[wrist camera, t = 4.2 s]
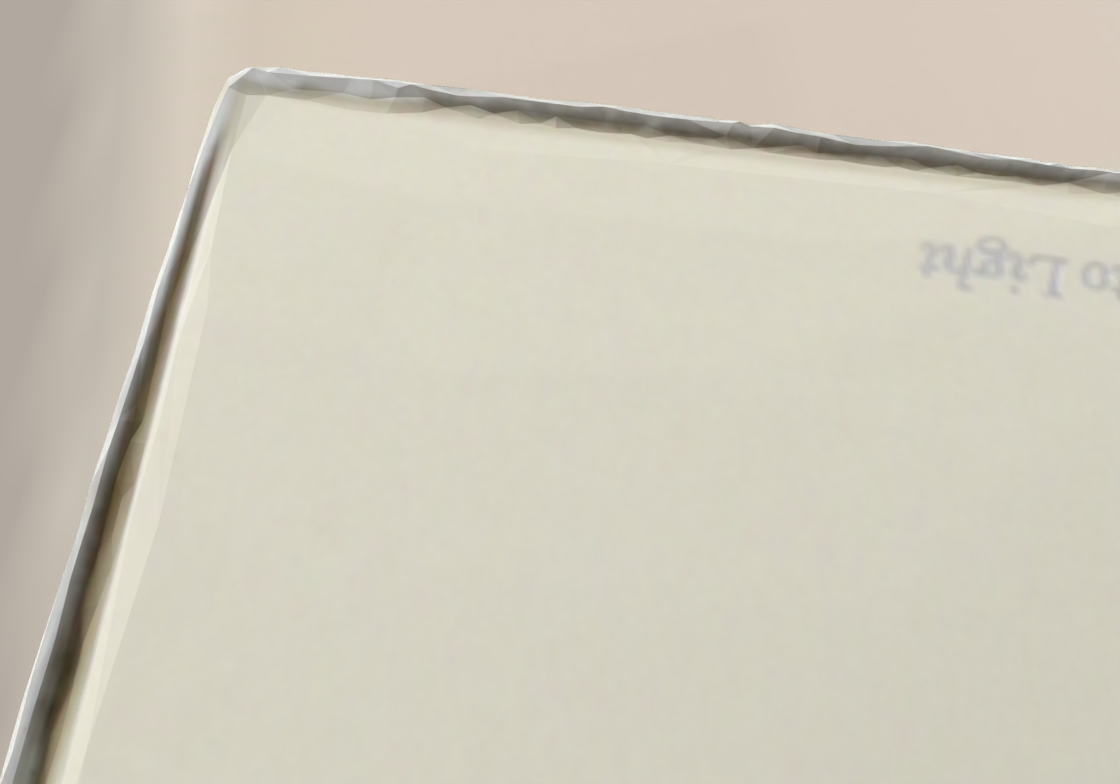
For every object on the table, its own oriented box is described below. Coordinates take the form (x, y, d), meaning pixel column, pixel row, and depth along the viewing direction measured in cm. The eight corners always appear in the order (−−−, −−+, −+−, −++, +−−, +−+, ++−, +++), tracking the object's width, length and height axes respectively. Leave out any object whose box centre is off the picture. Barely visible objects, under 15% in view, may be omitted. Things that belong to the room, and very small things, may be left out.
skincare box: (768, 584, 16) (1545, 199, 4) (760, 872, 14) (1966, 1455, 3) (405, 539, 15) (215, -2, 4) (355, 827, 14) (-185, 1273, 2)
